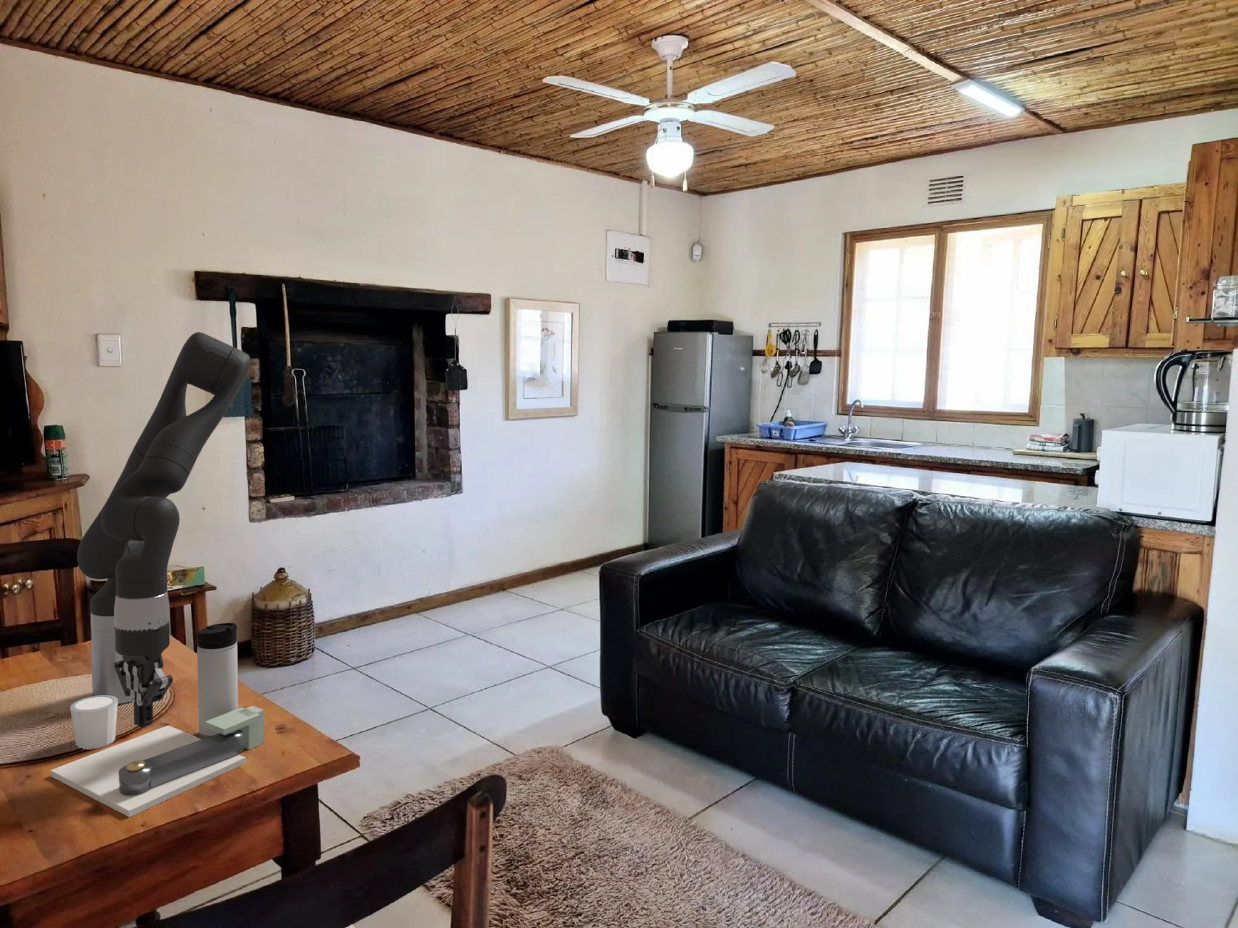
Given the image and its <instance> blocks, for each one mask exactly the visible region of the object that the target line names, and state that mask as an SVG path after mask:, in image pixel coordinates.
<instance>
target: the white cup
mask: <svg viewBox="0 0 1238 928" xmlns="http://www.w3.org/2000/svg"><path fill="white" fill-rule="evenodd" d="M118 705H119V704H118V698H116V697H114V696H109V695H99V696H94V695H93V696H88V697H85V698H82V699H79V700H77V701H75V702H73V703H72V704H71V705H70V709H69V710H70V714H71V721H72V722H71V723H72V727H73V734H74V740H75V746H78V747H79V748H83V749H82V750H85V749H86V750H94V749H100V748H103V747H106V746H108V745H111V744H112V743H113V742H115V740H116V731H117V730H116V729H117V715H118ZM78 747H77V748H78ZM79 748H78V749H79Z"/></svg>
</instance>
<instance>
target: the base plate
mask: <svg viewBox="0 0 1238 928" xmlns="http://www.w3.org/2000/svg"><path fill="white" fill-rule="evenodd" d="M199 740H202V739H201V738H200V737H197V736H195V735H193V734H190V733H187V732H185V731H183V730H181V729H179V728H175V727H173V726H171V725H166V726H163V727H160V728H158V729H154V730H152V731H149V732H146V733H145V734H144V733H143V734H141V735H139V736H136V737H133V738H131V739H129V740H125V741H124V742H123V741H122V742H121V743H118V744H115V745H113V746H110V747H108V748H105V749H102V750H100V751H97V752H95V753H92V754H90V755H86V756H84V757H81V758H79V759H76V760H73V761H71V762H69V763H66V764H63V765H60V766H58V767H56V768H53V769H50V777H51V778H53V779H55V780H57V781H59V782H61V783H63V784H65V785H66V786H69V787H71V788H72V789H75V790H76V791H78V792H80V793H82V794H84V795H86V796H88V797H90V798H92V799H93V800H95V801H97V802H99V803H101V804H103V805H105V806H107V807H109V808H111V809H113V810H115V811H117V812H119V813H121V814H123V815H124V816H126V817H128V818H131V817H134V816H135V815H138V814H139V813H142V812H144V811H146V810H148V809H150V808H152V807H155V806H156V805H159V804H160V803H162V802H165V801H167V800H169V799H172V798H174V797H176V796H178V795H180V794H182V793H185V792H186V791H189V790H191V789H194V788H195V787H197V786H200V785H202V784H204V783H207V782H208V781H211V780H213V779H215V778H218V777H219V776H221V775H223V774H226V773H228V772H229V771H232V770H234V769H237V768H238V767H240V766H243V765H245V764H246V762H247V761H246V760H247V759H246V758H247V757H245V756H243V755H241V754H237V755H235V756H232V757H229V758H227V759H224V760H222V761H219V762H216V763H214V764H211V765H209V766H206V767H204V768H201V769H198V770H196V771H193V772H191V773H188V774H185V775H183V776H180V777H178V778H175V779H172V780H170V781H167V782H165V783H162V784H159V785H157V786H154V787H152V788H150V789H149V790H147V791H145V792H143V793H140V794H135V795H123V794H121V793H120V792H119V770H120V769H121V768H122V767H123V766H125V765H127V764H128V763H130V762H133V761H138V760H141V761H143V760H146V759H148V758H151V757H154V756H157V755H160V754H162V753H165V752H168V751H171V750H174V749H176V748H179V747H182V746H185V745H188V744H190V743H193V742H196V741H199Z"/></svg>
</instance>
